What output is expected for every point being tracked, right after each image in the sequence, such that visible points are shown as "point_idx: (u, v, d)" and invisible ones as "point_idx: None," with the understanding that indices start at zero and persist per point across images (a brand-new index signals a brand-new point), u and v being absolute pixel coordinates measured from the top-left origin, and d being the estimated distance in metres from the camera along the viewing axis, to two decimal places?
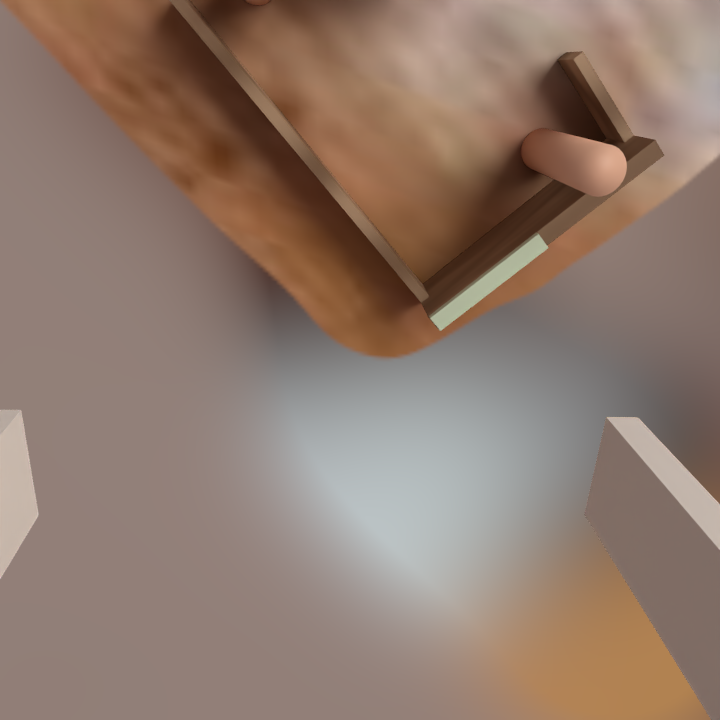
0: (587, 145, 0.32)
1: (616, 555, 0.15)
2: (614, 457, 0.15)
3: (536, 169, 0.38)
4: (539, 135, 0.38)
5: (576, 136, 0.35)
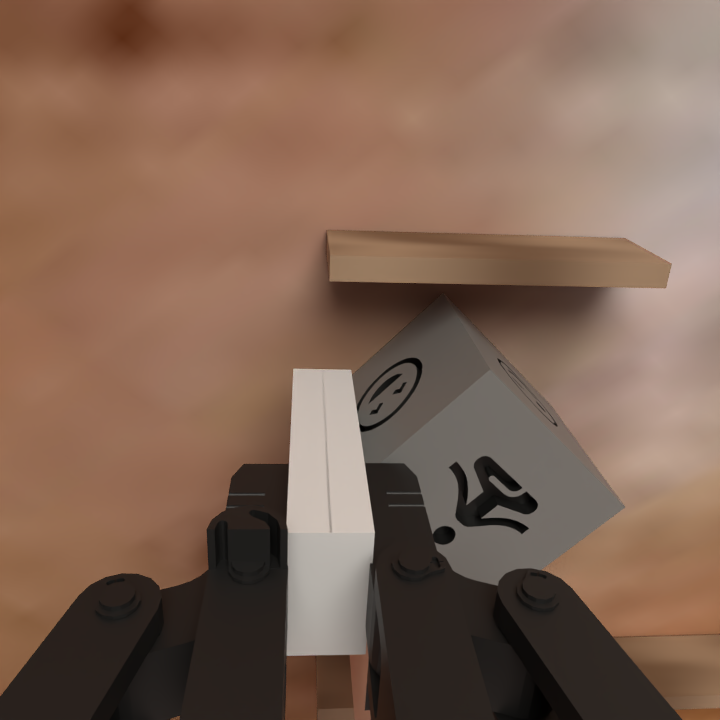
0: None
1: None
2: None
3: None
4: None
5: None
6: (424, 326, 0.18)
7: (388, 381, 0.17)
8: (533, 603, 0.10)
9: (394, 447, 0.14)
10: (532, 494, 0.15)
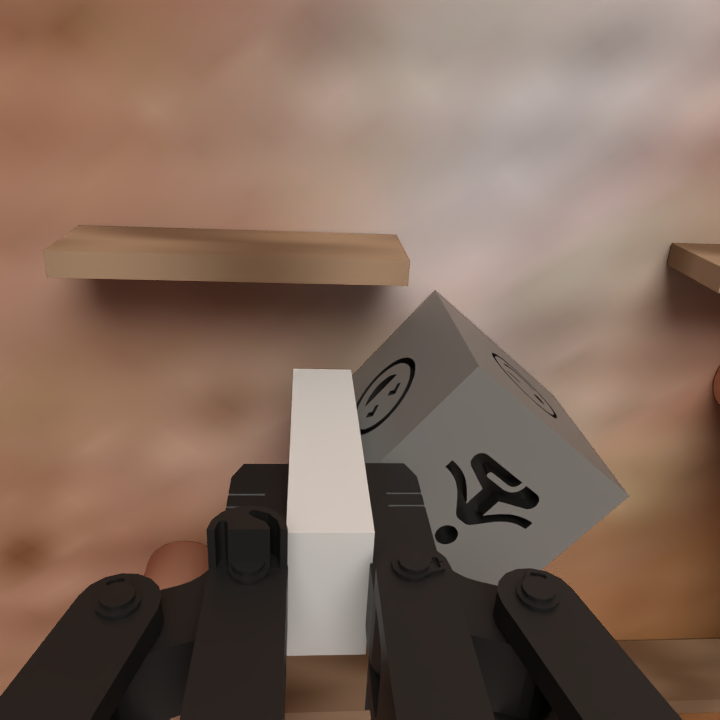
0: None
1: None
2: None
3: None
4: None
5: None
6: (416, 324, 0.18)
7: (384, 382, 0.17)
8: (532, 604, 0.10)
9: (388, 449, 0.14)
10: (532, 489, 0.15)
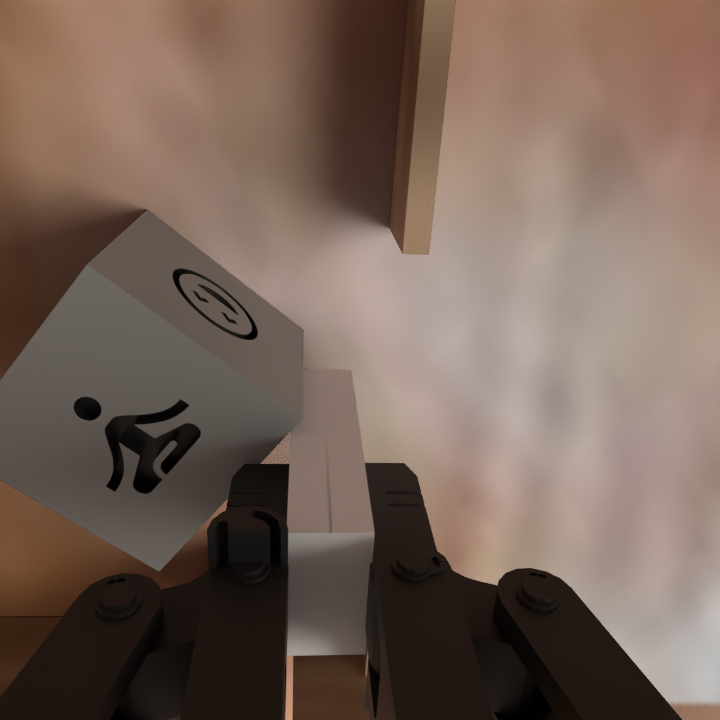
0: None
1: None
2: None
3: None
4: None
5: None
6: (276, 321, 0.17)
7: (222, 299, 0.16)
8: (533, 604, 0.10)
9: (195, 338, 0.13)
10: (156, 485, 0.14)
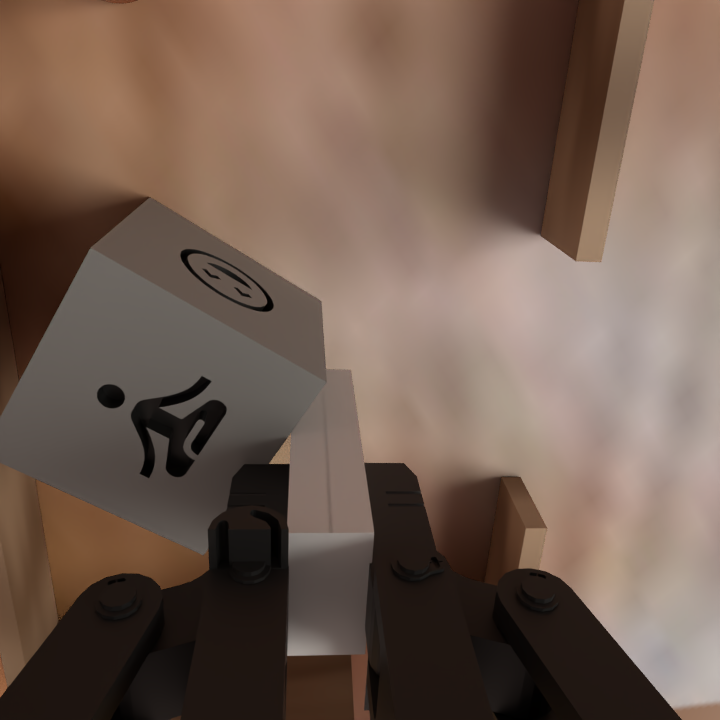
0: None
1: None
2: None
3: None
4: None
5: None
6: (291, 294, 0.17)
7: (234, 276, 0.16)
8: (532, 604, 0.10)
9: (208, 312, 0.13)
10: (190, 466, 0.14)
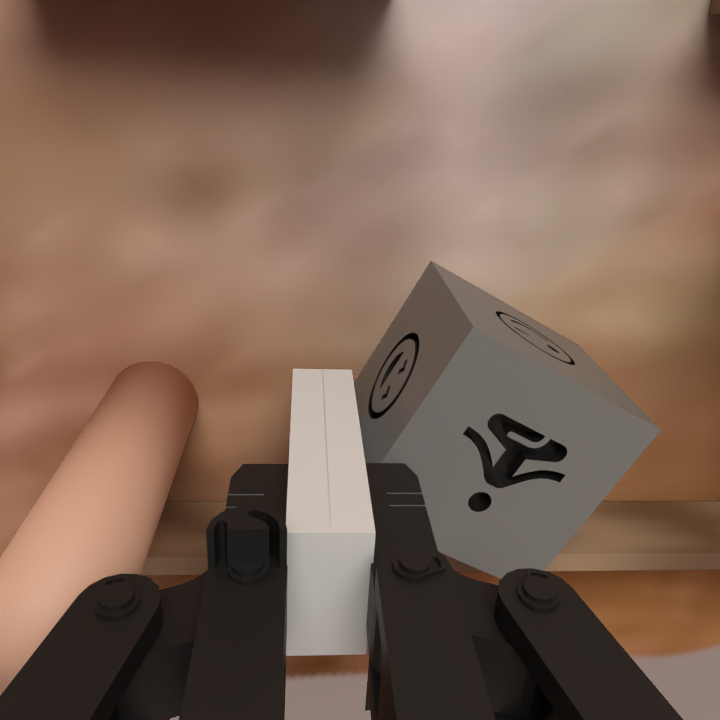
0: None
1: None
2: None
3: None
4: None
5: None
6: (417, 298, 0.17)
7: (394, 361, 0.17)
8: (534, 604, 0.10)
9: (402, 427, 0.14)
10: (558, 441, 0.15)
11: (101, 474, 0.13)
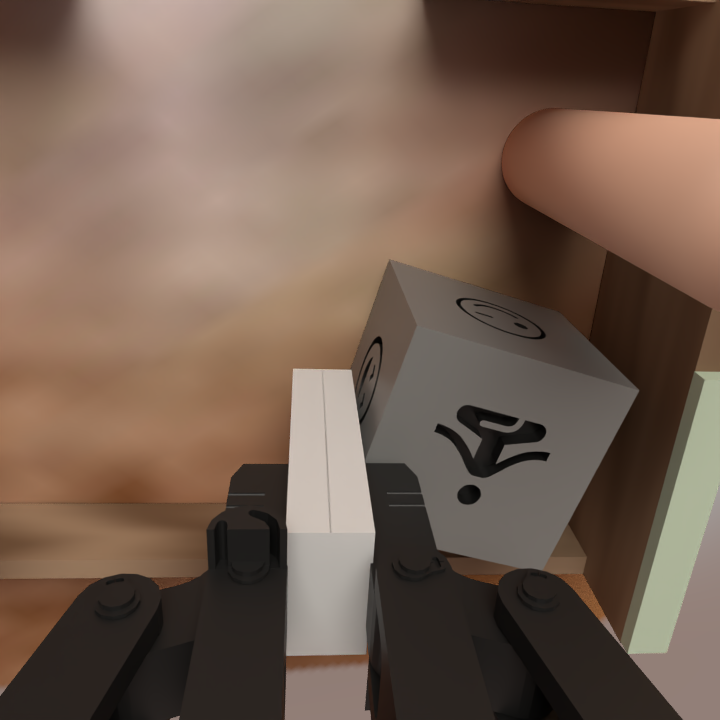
0: (651, 203, 0.09)
1: None
2: None
3: None
4: (519, 168, 0.15)
5: (590, 142, 0.12)
6: (381, 299, 0.17)
7: (367, 367, 0.17)
8: (533, 603, 0.10)
9: (373, 436, 0.14)
10: (534, 421, 0.14)
11: None
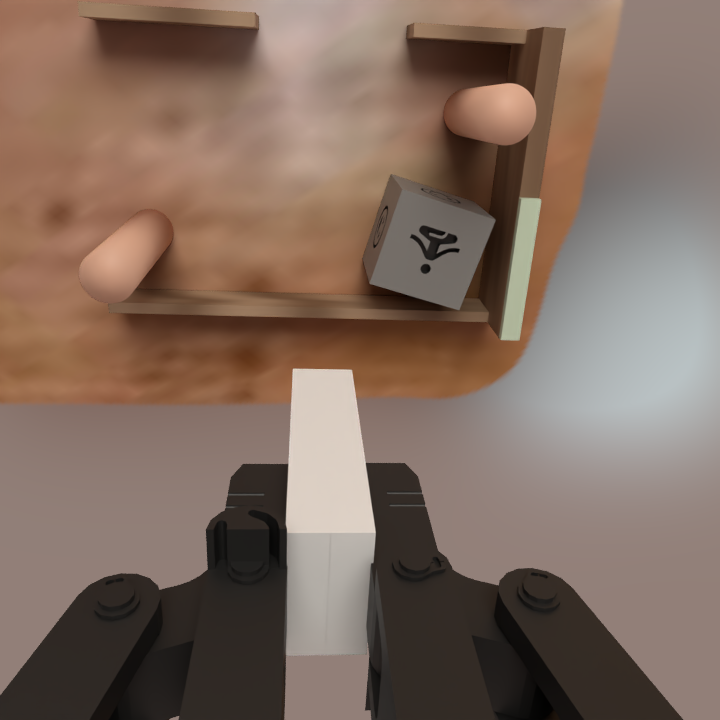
0: (474, 113, 0.28)
1: None
2: None
3: None
4: (448, 116, 0.34)
5: (466, 98, 0.31)
6: (387, 192, 0.37)
7: (381, 222, 0.36)
8: (534, 604, 0.10)
9: (384, 240, 0.34)
10: (452, 234, 0.34)
11: (130, 232, 0.32)
